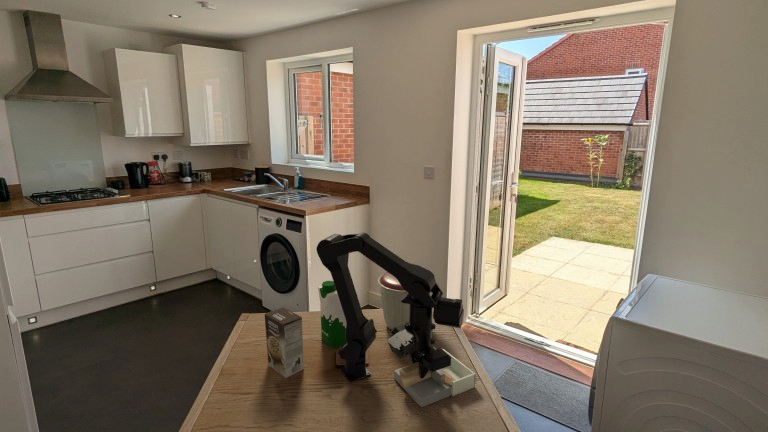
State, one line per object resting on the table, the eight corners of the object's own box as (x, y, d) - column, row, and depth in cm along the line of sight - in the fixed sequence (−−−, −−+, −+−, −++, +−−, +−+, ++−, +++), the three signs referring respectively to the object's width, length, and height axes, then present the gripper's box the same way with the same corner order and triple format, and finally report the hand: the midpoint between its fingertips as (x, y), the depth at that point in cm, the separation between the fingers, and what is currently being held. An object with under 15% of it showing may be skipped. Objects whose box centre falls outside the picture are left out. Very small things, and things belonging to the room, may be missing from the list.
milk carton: (317, 339, 131) (315, 280, 127) (342, 331, 136) (341, 274, 132) (330, 351, 124) (328, 289, 120) (356, 342, 129) (355, 283, 125)
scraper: (391, 374, 110) (390, 361, 108) (420, 362, 114) (419, 349, 113) (414, 397, 100) (413, 383, 99) (444, 383, 104) (444, 370, 103)
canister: (438, 336, 133) (441, 274, 128) (384, 342, 130) (384, 279, 125) (422, 311, 150) (423, 256, 146) (373, 315, 147) (373, 259, 142)
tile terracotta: (434, 373, 109) (437, 368, 109) (445, 378, 111) (447, 373, 111) (444, 382, 105) (447, 377, 105) (455, 387, 107) (458, 382, 107)
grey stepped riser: (394, 378, 112) (394, 370, 111) (421, 369, 116) (422, 361, 115) (421, 407, 101) (421, 398, 100) (450, 395, 105) (451, 386, 104)
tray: (421, 367, 116) (421, 355, 115) (442, 360, 120) (442, 348, 119) (452, 396, 104) (453, 382, 104) (474, 387, 108) (475, 373, 107)
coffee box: (267, 365, 117) (263, 313, 114) (286, 356, 122) (283, 305, 118) (285, 379, 111) (282, 324, 108) (305, 368, 116) (302, 316, 112)
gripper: (374, 312, 107) (374, 365, 111) (414, 346, 92) (413, 406, 95) (410, 303, 113) (409, 354, 116) (454, 333, 97) (451, 391, 101)
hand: (419, 375), depth 107 cm, fingers closed on scraper, 2 cm apart
